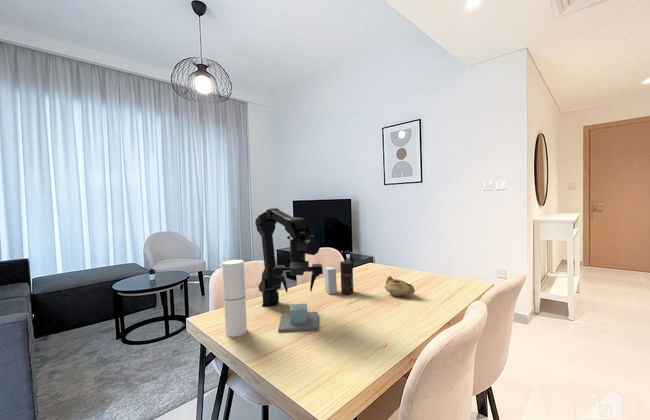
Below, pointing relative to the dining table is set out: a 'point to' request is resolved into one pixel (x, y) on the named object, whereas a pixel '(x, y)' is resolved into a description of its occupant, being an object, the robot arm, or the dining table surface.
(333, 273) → the skincare box
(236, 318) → the cylindrical container
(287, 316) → the post stand
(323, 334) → the dining table surface
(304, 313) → the pale blue cube
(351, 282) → the deodorant
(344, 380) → the dining table surface
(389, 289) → the brown lumpy piece
